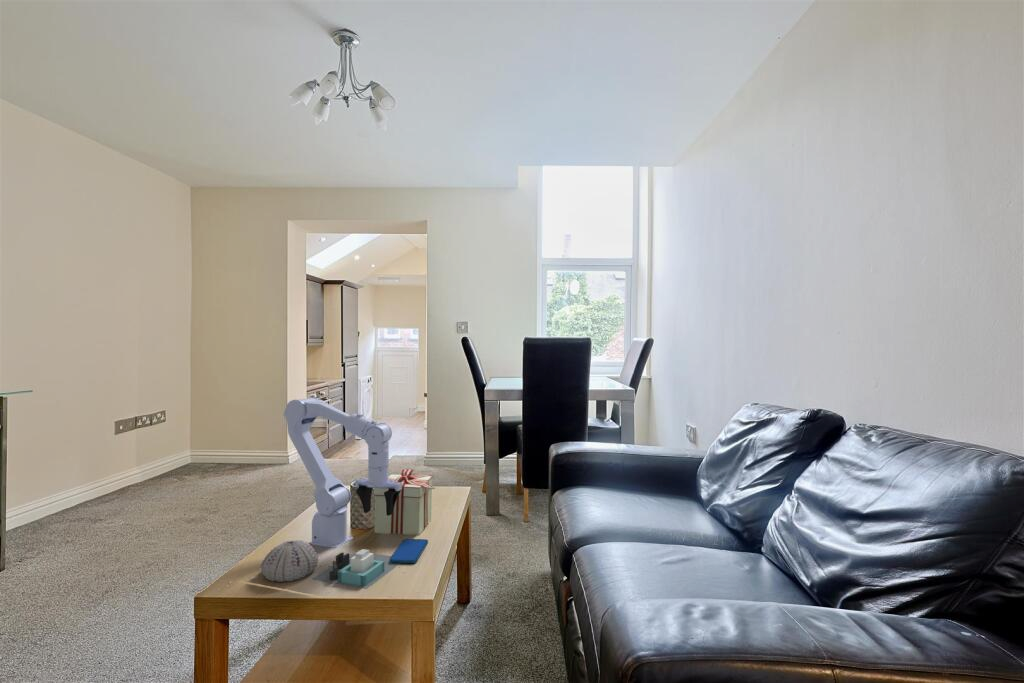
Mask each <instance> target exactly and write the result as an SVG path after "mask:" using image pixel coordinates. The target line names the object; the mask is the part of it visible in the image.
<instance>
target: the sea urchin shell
mask: <svg viewBox="0 0 1024 683" xmlns="http://www.w3.org/2000/svg"><path fill="white" fill-rule="evenodd" d="M261 561H262V562H261V566H260V570H261V571H260V572H261V573H262V575H263V576H264V577H265V579H267V580H268V581H270V582H278V583H280V582H282V583H283V582H289V583H290V582H294V581H298V580H301V579H302V578H304V577H306V576H310V574H311V573H313V571H314V570H315V569H316V568H317V566H318V563H319V556H318V552H316V550H315V548H314V547H313V546H312V544H310V543H308V542H306V541H304V540H300V539H299V540H287V541H283V542H281V543H280V544H277V545H276V546H274V547H273V548H272V549H271V550H270V551H269V552H268V553H267V554H266V555H265V557H264V559H263V560H261Z"/></svg>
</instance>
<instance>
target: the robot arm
mask: <svg viewBox="0 0 1024 683" xmlns="http://www.w3.org/2000/svg"><path fill="white" fill-rule="evenodd" d="M283 416H284V418H285V420H286V424H287V425H286V426H287V434H288V436H289V439H290V440H291V442H292V444H293V446H294V448H295V450H296V451H297V453H298V456H299V457H300V459H301V461H302V463H303V464H304V467H305V469H306V471H307V472H308V474H309V476H310V478H311V480H312V482H313V484H314V485H315V488H314V492H313V495H312V496H313V497H314V499H315V507H316V510H317V511H316V513H314V515H313V516H312V520H311V541H310V542H309V544H310V545H315V546H321V547H327V548H333V549H335V548H339V547H341V546H342V545H344V544H346V543H347V542H349V541H351V540H353V538H354V537H353V536H348V535H347V533H348V532H347V527H348V525H347V524H348V523H347V522H348V519H347V518H348V514H347V513H348V504H349V503H350V502H351V500H352V493H351V490H350V489H349V488H348V486H346V485H344V484H343V481H342V480H341V479H339V478H337V477H335V476H334V475H333V473H332V471H331V469H330V467H329V465H328V464H327V462H326V460H325V458H324V456H323V454H322V452H321V450H320V449H319V446H318V445H317V443H316V440H315V439H314V438H313V436H312V434H311V431H310V430H311V428H312V425H313V424H314V422H315V421H316V420H317V419H318V417H320V418H321V417H322V418H324V419H326V420H329V421H331V422H334V423H337V424H339V425H341V426H343V427H344V430H345V431H346V433H350V434H351V435H354V436H356V437H358V438H360V439H363V440H364V441H365V443H366V444H367V447H368V448H367V452H368V454H367V455H368V457H367V458H368V464H367V465H368V468H367V470H368V471H367V472H368V474H367V476H368V478H358V479H355V484H354V485H355V487H356V490H355V493H356V495H357V496H358V498H359V499H360V502H361V505H362V508H363V512H364V513H365V514H367V513H369V512H371V509H372V508H371V507H372V494H373V490H374V488H381V489H388V491H386V492H384V495H385V499H386V513H387V516H389V515H391V514H393V509H394V506H395V502H396V500H397V497H398V495H399V493H400V492H401V489H402V483H401V482H395V481H392V480H389V476H390V474H389V473H390V472H389V469H390V468H389V466H390V465H389V464H390V462H389V460H390V459H389V458H390V457H389V455H390V454H389V449H390V446H389V444H390V443H389V442H390V440H391V438H392V435H393V432H392V431H393V430H392V429H391V427H390V425H388V424H386V422H379V423H378V421H377V420H371V419H369V418H366V417H364V414H363V413H361V412H359V413H352V414H348V413H346V412H344V411H342V410H340V409H339V408H337V407H334V406H333V405H331V404H330V403H327V402H325V401H324V400H323V399H319V398H317V397H315V396H310V397H307V398H306V397H305V398H299V399H292V400H290V401H288V403H287V404H286V406H285V408H284V412H283Z"/></svg>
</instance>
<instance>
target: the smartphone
mask: <svg viewBox="0 0 1024 683" xmlns="http://www.w3.org/2000/svg"><path fill="white" fill-rule="evenodd" d="M428 544H429V540H428V539H426V538H425V539H423V538H422V539H421V538H419V539H418V538H405V539H403V540H402V541H401V543H400V544H399V545H398V546H397V548H396V549H395V551H394V552H393V553H392V555H390V556H391V557H390V562H399V563H400V564H402V563H403V564H405V563H406V564H407V563H408V564H409V563H410V564H414V563H415V564H416V563H417V562H418V560H419V559H420V557H421V555H422V553H423V551H424V550H425V548H426V547H427V545H428Z"/></svg>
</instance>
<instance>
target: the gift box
mask: <svg viewBox="0 0 1024 683" xmlns="http://www.w3.org/2000/svg"><path fill="white" fill-rule="evenodd" d="M414 471H415V469H402V470H401V473H400V474H389V480H392V481H395V482H401V483H402V489H401V492H400V493H399V495H398V497H397V500H396V502H395V506H394V509H393V514H391V515H389V516H387V513H386V499H385V495H384V492H386V491H388V489H381V488H373V495H374V496H375V500H374V502H375V504H374V505H375V506H374V508H375V509H374V533H375V534H389V535H390V534H391V535H410V536H411V535H413V536H420V535H421V534H422V532H423V531H424V530H425V529H426V528H427V526H428V525H429V524H430V523H431V521H432V497H433V496H432V494H433V493H432V492H433V491H432V490H434V489H436V487H433V486H434V475H433V474H420V473H419V474H412V473H413V472H414ZM429 522H430V523H429ZM425 527H426V528H425Z"/></svg>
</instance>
